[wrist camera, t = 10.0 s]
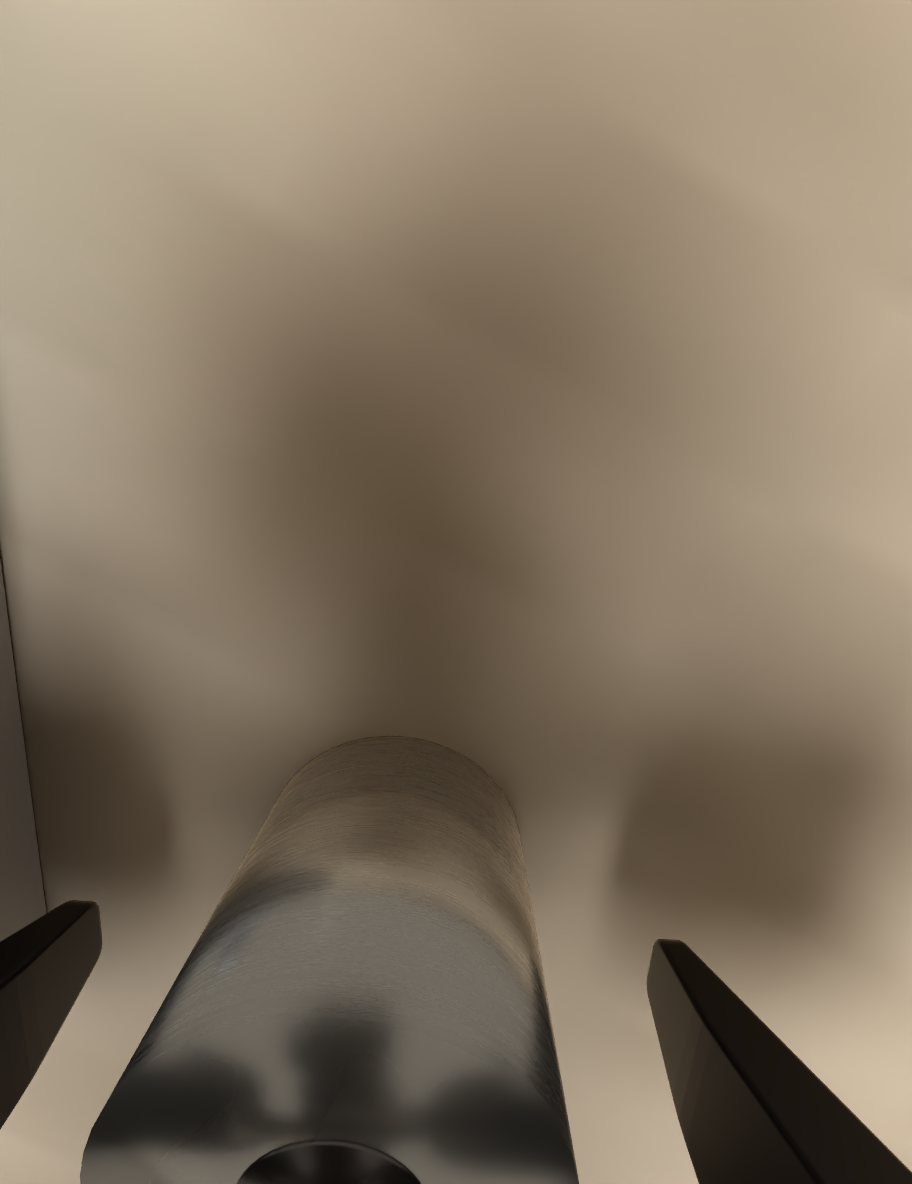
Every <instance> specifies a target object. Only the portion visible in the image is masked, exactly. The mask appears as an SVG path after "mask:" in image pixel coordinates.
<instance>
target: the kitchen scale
mask: <svg viewBox="0 0 912 1184" xmlns="http://www.w3.org/2000/svg"><path fill="white" fill-rule="evenodd" d="M45 914H46V906H45V898H44V891H43V883H42V875H41V868H40V860H39V852H38V845H37V837H36V829H35V822H34V814H33V806H32V799H31V791H30V783H29V776H28V768H27V760H26V753H25V745H24V737H23V730H22V722H21V714H20V707H19V699H18V691H17V683H16V676H15V668H14V660H13V653H12V645H11V637H10V630H9V622H8V614H7V607H6V599H5V591H4V584H3V576H2V568H1V561H0V941H2V940H4V939H5V938H7V937H9V936H10V935H12V934H13V933H15V932H17V931H18V930H20V929H22V928H23V927H25V926H27V925H28V924H30V923H32V922H33V921H35V920H37V919H38V918H40V917H42V916H43V915H45Z"/></svg>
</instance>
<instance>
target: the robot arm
mask: <svg viewBox="0 0 912 1184" xmlns="http://www.w3.org/2000/svg"><path fill="white" fill-rule="evenodd" d="M101 949H102V932H101V922H100V912H99V906H98V905H97V904H96V902H93V901H78V900H72V901H68V902H65V903H63V904H62V905H60V906H58V907H57V908H55V909H53V910H52V911H50V912H48V913H47V914H45V915H43V916H42V917H40V918H38V919H37V920H35V921H33V922H32V923H30V924H28V925H27V926H25V927H23V928H22V929H20V930H18V931H17V932H15V933H13V934H12V935H10V936H9V937H7V938H5V939H4V940H2V941H0V1129H1V1128H2V1126H3V1125H4V1123H5V1121H6V1120H7V1118H8V1117H9V1115H10V1114H11V1112H12V1111H13V1109H14V1107H15V1106H16V1104H17V1103H18V1101H19V1100H20V1098H21V1096H22V1095H23V1093H24V1092H25V1090H26V1088H27V1087H28V1085H29V1084H30V1082H31V1080H32V1079H33V1077H34V1075H35V1073H36V1072H37V1070H38V1068H39V1066H40V1065H41V1063H42V1061H43V1059H44V1058H45V1056H46V1054H47V1052H48V1050H49V1048H50V1047H51V1045H52V1043H53V1041H54V1039H55V1037H56V1036H57V1034H58V1032H59V1030H60V1028H61V1027H62V1025H63V1023H64V1021H65V1019H66V1017H67V1016H68V1014H69V1012H70V1010H71V1008H72V1006H73V1005H74V1003H75V1001H76V999H77V997H78V995H79V994H80V992H81V990H82V988H83V986H84V984H85V983H86V981H87V979H88V977H89V975H90V973H91V972H92V970H93V968H94V966H95V964H96V962H97V960H98V958H99V955H100V953H101ZM647 991H648V997H649V1002H650V1006H651V1010H652V1014H653V1018H654V1022H655V1026H656V1030H657V1035H658V1039H659V1043H660V1047H661V1051H662V1055H663V1059H664V1064H665V1068H666V1072H667V1076H668V1080H669V1084H670V1088H671V1092H672V1097H673V1101H674V1104H675V1108H676V1112H677V1116H678V1120H679V1123H680V1126H681V1129H682V1133H683V1136H684V1139H685V1142H686V1146H687V1149H688V1152H689V1155H690V1158H691V1161H692V1164H693V1167H694V1170H695V1173H696V1176H697V1179H698V1182H699V1184H912V1172H911V1171H910V1170H909V1169H908V1168H907V1167H906V1166H905V1165H904V1164H903V1163H902V1162H901V1161H900V1160H899V1159H898V1158H897V1157H896V1156H895V1155H894V1154H893V1153H892V1152H891V1151H890V1150H889V1149H888V1148H887V1147H886V1146H885V1145H884V1144H883V1143H882V1142H881V1141H880V1140H879V1139H878V1138H877V1137H876V1136H875V1135H874V1134H873V1133H872V1132H871V1131H870V1130H869V1129H868V1128H867V1127H866V1126H865V1125H864V1124H863V1123H862V1122H861V1120H860V1119H859V1118H858V1117H857V1116H856V1115H855V1114H854V1113H853V1112H852V1111H851V1110H850V1109H849V1108H848V1107H847V1106H846V1105H845V1104H844V1103H843V1102H842V1101H841V1100H840V1099H839V1098H838V1097H837V1096H836V1095H835V1094H834V1093H833V1092H832V1091H831V1090H830V1089H829V1088H828V1087H827V1086H826V1085H825V1084H824V1083H823V1082H822V1081H821V1080H820V1079H819V1078H818V1077H817V1076H816V1075H815V1074H814V1073H813V1072H812V1071H811V1070H810V1069H809V1068H808V1067H807V1066H806V1065H805V1064H804V1063H803V1062H802V1061H801V1060H800V1059H799V1058H798V1057H797V1056H796V1055H795V1054H794V1053H793V1052H792V1051H791V1050H790V1049H789V1048H788V1047H787V1046H786V1045H785V1044H784V1043H783V1042H782V1041H781V1040H780V1039H779V1038H778V1037H777V1036H776V1035H775V1034H774V1033H773V1032H772V1031H771V1030H770V1029H769V1028H768V1027H767V1026H766V1025H765V1024H764V1023H763V1022H762V1021H761V1020H760V1019H759V1018H758V1017H757V1016H756V1015H755V1013H754V1012H753V1011H752V1010H751V1009H750V1008H749V1007H748V1006H747V1005H746V1004H745V1003H744V1002H743V1001H742V1000H741V999H740V998H739V997H738V996H737V995H736V994H735V993H734V992H733V991H732V990H731V989H730V988H729V987H728V986H727V985H726V984H725V983H724V982H723V981H722V980H721V979H720V978H719V977H718V976H717V975H716V974H715V973H714V972H713V971H712V970H711V969H710V968H709V967H708V966H707V965H706V964H705V963H704V962H703V961H702V960H701V959H700V958H699V957H698V956H697V955H696V954H695V953H694V952H693V951H692V950H691V949H690V948H689V947H688V946H687V945H686V944H685V943H683V942H682V941H679V940H668V939H658V940H657V941H656V942H655V943H654V946H653V951H652V956H651V961H650V966H649V971H648V976H647Z"/></svg>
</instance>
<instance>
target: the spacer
mask: <svg viewBox="0 0 912 1184" xmlns="http://www.w3.org/2000/svg"><path fill="white" fill-rule="evenodd" d="M80 1180H81V1184H579V1180H578V1175H577V1169H576V1163H575V1157H574V1151H573V1145H572V1139H571V1134H570V1128H569V1122H568V1116H567V1110H566V1104H565V1098H564V1093H563V1087H562V1081H561V1075H560V1069H559V1063H558V1058H557V1052H556V1046H555V1040H554V1034H553V1028H552V1022H551V1017H550V1011H549V1005H548V999H547V993H546V987H545V981H544V976H543V970H542V964H541V958H540V952H539V946H538V940H537V935H536V929H535V923H534V917H533V911H532V905H531V900H530V894H529V888H528V882H527V876H526V870H525V864H524V859H523V853H522V847H521V841H520V835H519V830H518V826H517V822H516V819H515V816H514V813H513V811H512V809H511V806H510V804H509V802H508V800H507V799H506V797H505V796H504V794H503V792H502V791H501V789H500V788H499V787H498V786H497V784H496V783H495V782H494V781H493V780H492V778H491V777H490V776H489V775H488V774H486V773H485V772H484V771H483V770H482V769H481V768H480V767H479V766H477V765H476V764H475V763H473V762H472V761H470V760H469V759H468V758H466V757H464V756H463V755H461V754H459V753H457V752H455V751H453V750H451V749H449V748H446V747H444V746H441V745H439V744H436V743H433V742H429V741H425V740H421V739H417V738H409V737H401V736H380V737H371V738H364V739H359V740H355V741H351V742H347V743H345V744H342V745H339V746H337V747H334V748H332V749H330V750H328V751H326V752H324V753H322V754H320V755H318V756H317V757H316V758H314V759H313V760H311V761H310V762H309V763H307V764H306V765H305V766H303V767H302V768H301V769H300V770H299V771H298V772H297V773H296V774H295V775H294V776H293V777H292V778H291V780H290V781H289V782H288V784H287V785H286V786H285V787H284V789H283V791H282V792H281V794H280V796H279V798H278V799H277V801H276V803H275V805H274V806H273V808H272V810H271V812H270V813H269V815H268V817H267V819H266V821H265V822H264V824H263V826H262V828H261V829H260V831H259V833H258V835H257V837H256V838H255V840H254V842H253V844H252V845H251V847H250V849H249V851H248V853H247V854H246V856H245V858H244V860H243V861H242V863H241V865H240V867H239V868H238V870H237V872H236V874H235V876H234V877H233V879H232V881H231V883H230V884H229V886H228V888H227V890H226V892H225V893H224V895H223V897H222V899H221V900H220V902H219V904H218V906H217V908H216V909H215V911H214V913H213V915H212V916H211V918H210V920H209V922H208V923H207V925H206V927H205V929H204V931H203V932H202V934H201V936H200V938H199V939H198V941H197V943H196V945H195V947H194V948H193V950H192V952H191V954H190V955H189V957H188V959H187V961H186V963H185V964H184V966H183V968H182V970H181V971H180V973H179V975H178V977H177V979H176V980H175V982H174V984H173V986H172V987H171V989H170V991H169V993H168V994H167V996H166V998H165V1000H164V1002H163V1003H162V1005H161V1007H160V1009H159V1010H158V1012H157V1014H156V1016H155V1018H154V1019H153V1021H152V1023H151V1025H150V1026H149V1028H148V1030H147V1032H146V1034H145V1035H144V1037H143V1039H142V1041H141V1042H140V1044H139V1046H138V1048H137V1049H136V1051H135V1053H134V1055H133V1057H132V1058H131V1060H130V1062H129V1064H128V1065H127V1067H126V1069H125V1071H124V1073H123V1074H122V1076H121V1078H120V1080H119V1081H118V1083H117V1085H116V1087H115V1089H114V1090H113V1092H112V1094H111V1096H110V1097H109V1099H108V1101H107V1103H106V1104H105V1106H104V1108H103V1110H102V1112H101V1113H100V1115H99V1117H98V1119H97V1120H96V1122H95V1124H94V1126H93V1128H92V1130H91V1133H90V1135H89V1138H88V1141H87V1144H86V1147H85V1149H84V1153H83V1160H82V1167H81V1173H80Z"/></svg>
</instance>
